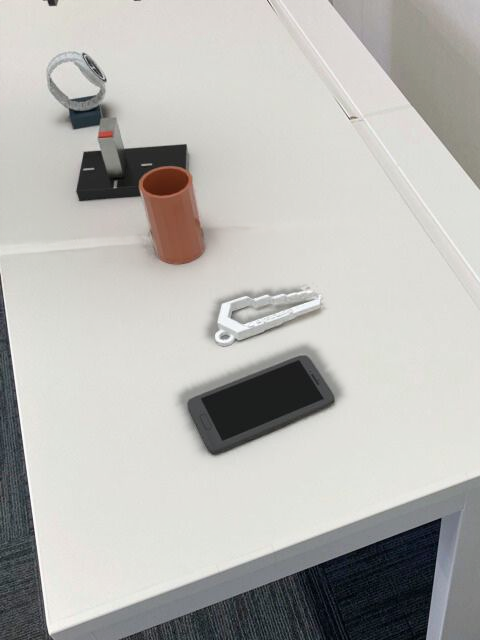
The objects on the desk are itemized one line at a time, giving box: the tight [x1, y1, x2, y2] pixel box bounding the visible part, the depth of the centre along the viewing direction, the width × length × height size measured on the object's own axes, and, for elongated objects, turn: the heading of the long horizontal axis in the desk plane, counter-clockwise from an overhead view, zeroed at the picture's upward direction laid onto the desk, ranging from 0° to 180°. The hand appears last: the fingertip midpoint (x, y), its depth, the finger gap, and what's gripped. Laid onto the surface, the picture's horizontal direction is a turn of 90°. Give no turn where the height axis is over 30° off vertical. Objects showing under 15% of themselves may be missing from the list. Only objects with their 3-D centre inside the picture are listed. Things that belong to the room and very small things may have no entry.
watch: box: [46, 51, 108, 131], centre depth 111 cm, size 6×8×11 cm
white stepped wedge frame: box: [214, 289, 322, 347], centre depth 88 cm, size 13×5×2 cm, turn 116°
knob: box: [97, 117, 126, 178], centre depth 100 cm, size 5×2×6 cm, turn 8°
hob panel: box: [75, 143, 190, 202], centre depth 104 cm, size 14×9×3 cm, turn 97°
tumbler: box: [139, 166, 206, 265], centre depth 93 cm, size 6×6×10 cm
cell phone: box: [187, 354, 336, 455], centre depth 79 cm, size 7×14×1 cm, turn 118°
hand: (96, 0), depth 80 cm, fingers open, 8 cm apart
